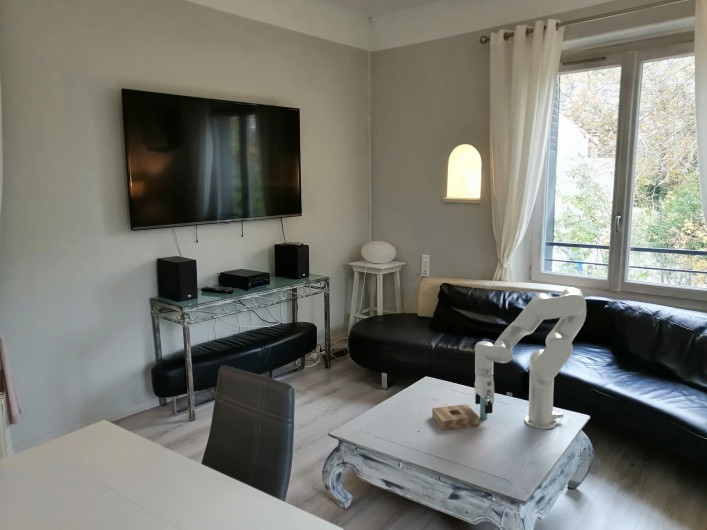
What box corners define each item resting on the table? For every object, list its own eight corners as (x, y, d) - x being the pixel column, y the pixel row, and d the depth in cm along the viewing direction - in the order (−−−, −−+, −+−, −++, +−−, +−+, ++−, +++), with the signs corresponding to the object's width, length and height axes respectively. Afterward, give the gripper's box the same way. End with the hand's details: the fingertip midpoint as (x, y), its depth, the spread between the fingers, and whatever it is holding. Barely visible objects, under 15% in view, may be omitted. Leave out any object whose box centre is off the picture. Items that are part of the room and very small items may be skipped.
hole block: (466, 412, 239) (466, 404, 238) (479, 425, 226) (479, 416, 225) (432, 416, 236) (432, 408, 235) (442, 430, 223) (442, 421, 222)
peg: (485, 415, 235) (485, 394, 233) (488, 418, 232) (488, 397, 231) (478, 416, 235) (479, 395, 233) (481, 419, 232) (482, 397, 230)
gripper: (501, 377, 222) (500, 416, 225) (483, 363, 239) (483, 399, 242) (484, 378, 221) (484, 418, 224) (467, 364, 237) (467, 401, 240)
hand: (483, 408), depth 233 cm, fingers open, 9 cm apart
